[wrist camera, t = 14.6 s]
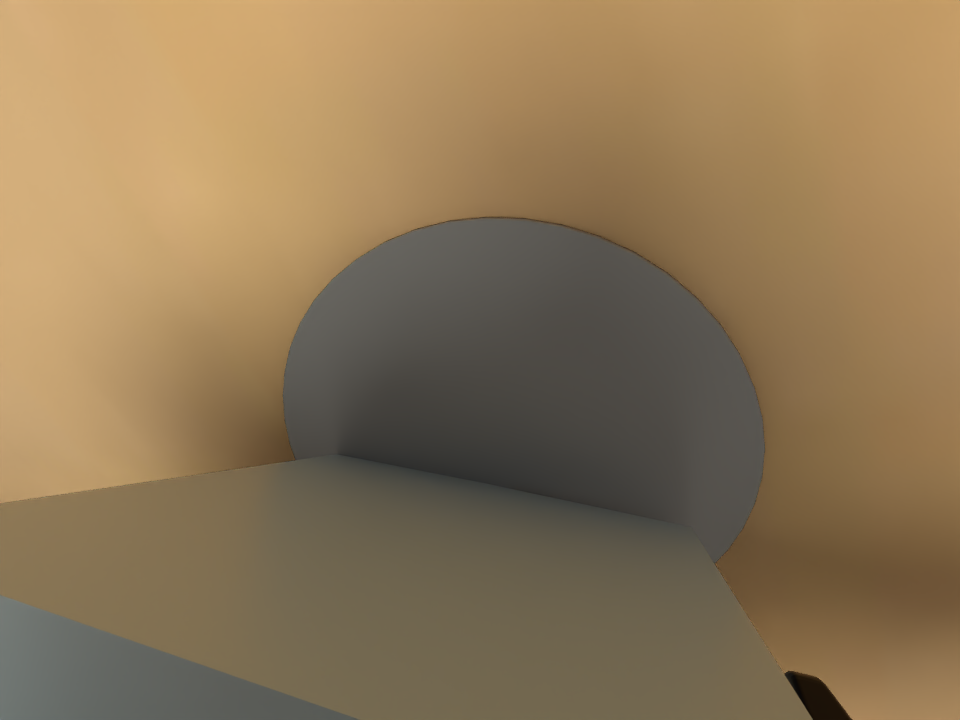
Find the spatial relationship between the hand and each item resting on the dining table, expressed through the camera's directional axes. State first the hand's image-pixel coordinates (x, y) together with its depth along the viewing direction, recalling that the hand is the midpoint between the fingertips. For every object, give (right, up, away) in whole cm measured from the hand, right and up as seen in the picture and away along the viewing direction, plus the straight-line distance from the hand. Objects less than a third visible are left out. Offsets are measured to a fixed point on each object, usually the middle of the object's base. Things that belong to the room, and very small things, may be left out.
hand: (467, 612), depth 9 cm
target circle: (+1, +2, +3) cm, 4 cm away
